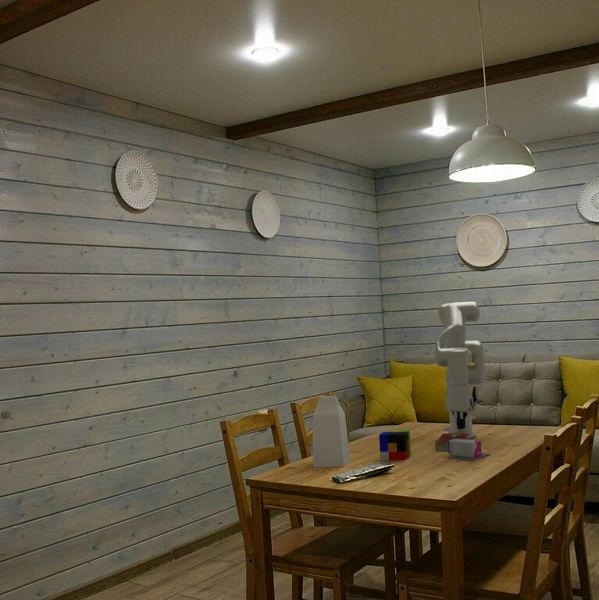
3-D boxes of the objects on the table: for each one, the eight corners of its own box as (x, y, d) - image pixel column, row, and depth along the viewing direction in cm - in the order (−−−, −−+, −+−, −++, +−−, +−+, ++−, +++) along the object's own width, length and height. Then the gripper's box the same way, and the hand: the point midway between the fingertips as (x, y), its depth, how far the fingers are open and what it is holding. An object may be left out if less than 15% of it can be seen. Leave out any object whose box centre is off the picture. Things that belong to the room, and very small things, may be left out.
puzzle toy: (380, 460, 288) (379, 434, 288) (386, 455, 297) (385, 430, 298) (405, 460, 285) (404, 434, 285) (411, 455, 294) (409, 430, 294)
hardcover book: (435, 451, 301) (435, 441, 301) (442, 442, 321) (441, 432, 321) (465, 451, 297) (465, 441, 297) (470, 442, 317) (469, 432, 317)
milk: (313, 466, 283) (309, 398, 284) (320, 460, 294) (316, 395, 295) (343, 466, 280) (339, 397, 280) (349, 460, 291) (346, 394, 291)
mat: (449, 458, 283) (449, 457, 283) (467, 452, 293) (467, 451, 293) (471, 461, 276) (471, 459, 276) (490, 455, 285) (490, 453, 285)
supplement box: (448, 455, 288) (473, 458, 279) (447, 440, 288) (472, 442, 279) (457, 453, 292) (482, 455, 283) (456, 438, 292) (481, 440, 283)
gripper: (436, 381, 290) (439, 428, 290) (469, 383, 279) (472, 431, 279) (447, 379, 295) (450, 425, 295) (480, 380, 285) (483, 428, 285)
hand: (461, 428), depth 287 cm, fingers closed
